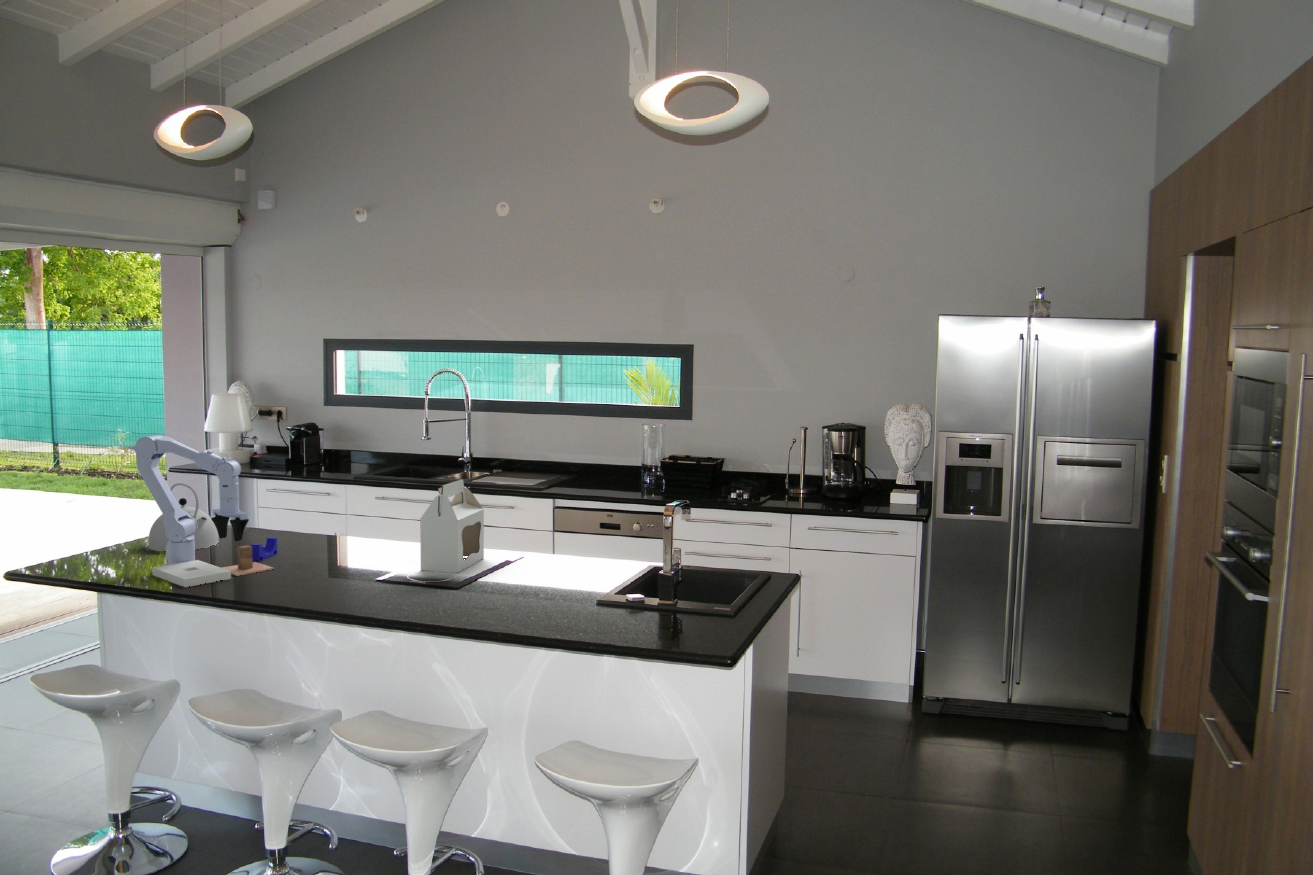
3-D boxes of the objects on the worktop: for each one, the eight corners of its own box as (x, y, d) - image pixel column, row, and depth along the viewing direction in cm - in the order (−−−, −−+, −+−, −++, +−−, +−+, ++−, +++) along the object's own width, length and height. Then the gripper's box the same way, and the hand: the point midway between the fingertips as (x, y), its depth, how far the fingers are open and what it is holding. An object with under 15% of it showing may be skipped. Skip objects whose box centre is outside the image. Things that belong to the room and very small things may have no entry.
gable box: (448, 556, 325) (448, 476, 322) (484, 558, 322) (484, 478, 319) (420, 570, 303) (419, 485, 300) (457, 573, 300) (457, 487, 298)
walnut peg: (237, 568, 299) (237, 546, 299) (247, 566, 302) (246, 545, 301) (243, 569, 298) (242, 548, 297) (252, 567, 300) (252, 546, 300)
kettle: (235, 544, 337) (234, 483, 335) (175, 555, 318) (173, 490, 316) (195, 536, 351) (193, 477, 348) (135, 546, 331) (133, 483, 329)
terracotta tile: (219, 569, 299) (218, 567, 299) (254, 563, 309) (254, 561, 308) (237, 576, 292) (237, 574, 292) (273, 569, 301) (273, 567, 301)
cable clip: (265, 554, 324) (264, 537, 323) (277, 554, 323) (277, 537, 322) (246, 561, 312) (246, 544, 311) (259, 562, 311) (258, 544, 311)
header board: (152, 575, 291) (152, 567, 291) (198, 567, 302) (197, 559, 302) (184, 587, 277) (184, 579, 277) (231, 578, 288) (230, 570, 288)
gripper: (203, 497, 300) (205, 538, 302) (232, 501, 293) (234, 544, 294) (223, 494, 306) (224, 535, 308) (252, 498, 299) (253, 540, 301)
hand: (230, 539), depth 301 cm, fingers open, 7 cm apart
